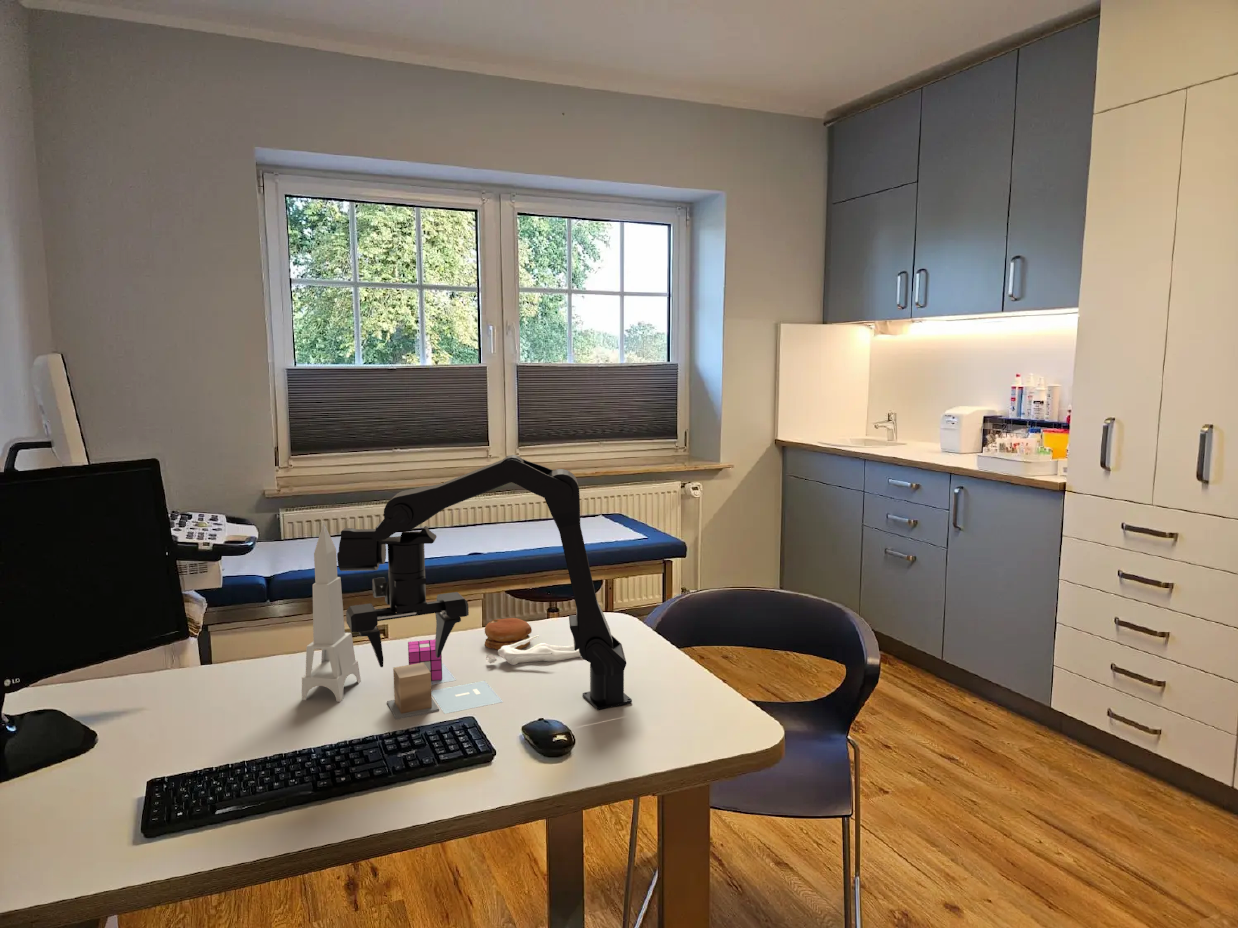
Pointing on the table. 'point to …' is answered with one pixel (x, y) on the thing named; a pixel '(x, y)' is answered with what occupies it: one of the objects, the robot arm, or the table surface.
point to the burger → (507, 633)
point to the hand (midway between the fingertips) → (409, 661)
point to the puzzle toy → (426, 657)
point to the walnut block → (412, 687)
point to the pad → (398, 714)
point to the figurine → (534, 653)
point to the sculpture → (328, 626)
